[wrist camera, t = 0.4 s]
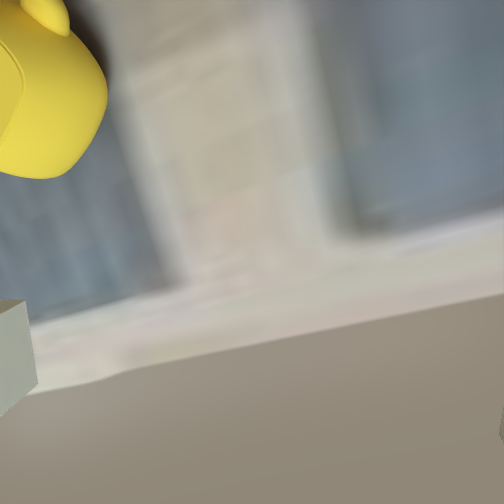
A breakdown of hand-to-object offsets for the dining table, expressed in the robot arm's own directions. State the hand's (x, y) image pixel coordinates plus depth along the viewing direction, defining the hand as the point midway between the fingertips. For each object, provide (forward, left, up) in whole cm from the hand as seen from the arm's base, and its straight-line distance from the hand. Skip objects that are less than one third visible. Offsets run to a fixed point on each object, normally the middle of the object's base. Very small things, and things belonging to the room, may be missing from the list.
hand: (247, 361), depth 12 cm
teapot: (-9, -23, -28) cm, 37 cm away
